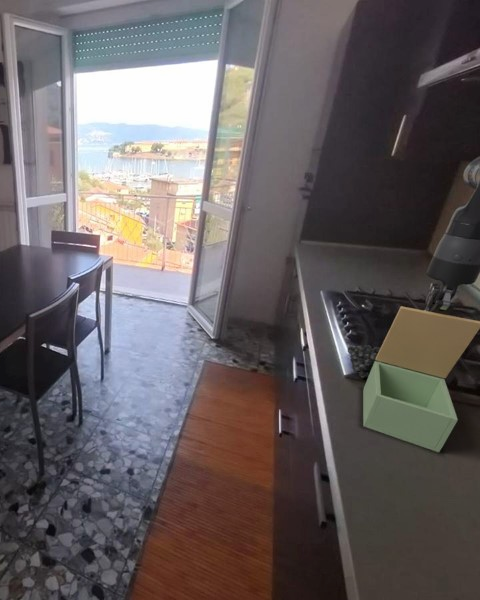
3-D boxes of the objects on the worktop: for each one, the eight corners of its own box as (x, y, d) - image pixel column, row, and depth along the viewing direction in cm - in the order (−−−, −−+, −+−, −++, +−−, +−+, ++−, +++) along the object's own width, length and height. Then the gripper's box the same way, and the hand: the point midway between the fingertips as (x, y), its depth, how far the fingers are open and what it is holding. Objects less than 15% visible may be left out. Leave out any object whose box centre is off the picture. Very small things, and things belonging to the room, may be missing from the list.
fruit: (353, 326, 102) (374, 353, 89) (382, 338, 101) (408, 367, 88) (334, 349, 106) (351, 378, 93) (362, 361, 105) (384, 392, 92)
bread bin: (439, 452, 73) (458, 420, 69) (363, 426, 79) (376, 395, 76) (428, 409, 84) (444, 379, 80) (363, 389, 91) (374, 360, 87)
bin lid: (483, 324, 70) (482, 321, 71) (400, 308, 77) (400, 306, 77) (445, 378, 80) (445, 376, 80) (375, 360, 87) (375, 358, 87)
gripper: (493, 270, 66) (452, 349, 73) (477, 252, 75) (442, 324, 83) (439, 262, 70) (405, 338, 77) (430, 246, 79) (401, 315, 87)
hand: (424, 330), depth 80 cm, fingers closed
